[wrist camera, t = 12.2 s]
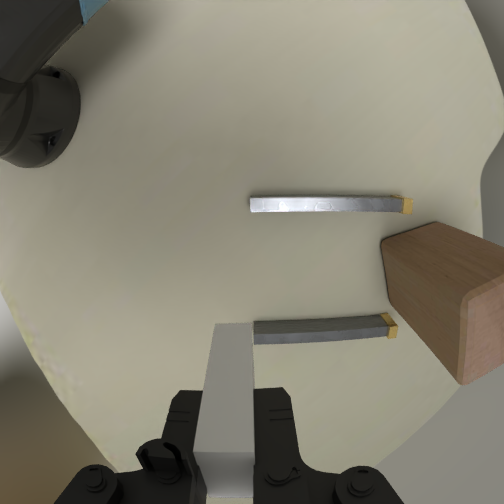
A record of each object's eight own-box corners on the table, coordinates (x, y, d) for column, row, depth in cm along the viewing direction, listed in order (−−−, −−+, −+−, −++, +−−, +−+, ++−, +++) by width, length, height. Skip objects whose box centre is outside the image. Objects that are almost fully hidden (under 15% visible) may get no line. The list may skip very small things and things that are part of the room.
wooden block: (438, 218, 37) (542, 259, 18) (444, 283, 39) (530, 349, 20) (377, 238, 38) (467, 300, 19) (388, 305, 40) (460, 392, 21)
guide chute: (250, 194, 37) (249, 197, 33) (398, 195, 36) (412, 198, 32) (254, 331, 41) (253, 347, 38) (385, 324, 41) (395, 337, 37)
